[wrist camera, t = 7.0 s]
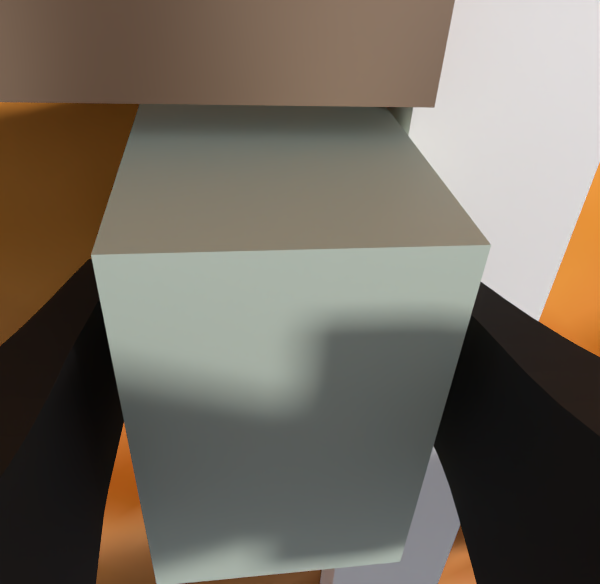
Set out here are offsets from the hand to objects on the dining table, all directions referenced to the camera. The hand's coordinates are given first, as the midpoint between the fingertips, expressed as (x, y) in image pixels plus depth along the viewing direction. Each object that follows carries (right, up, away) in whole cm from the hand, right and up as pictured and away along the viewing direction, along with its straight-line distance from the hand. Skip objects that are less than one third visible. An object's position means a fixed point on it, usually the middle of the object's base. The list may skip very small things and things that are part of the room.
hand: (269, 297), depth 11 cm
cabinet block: (0, +1, +2) cm, 2 cm away
